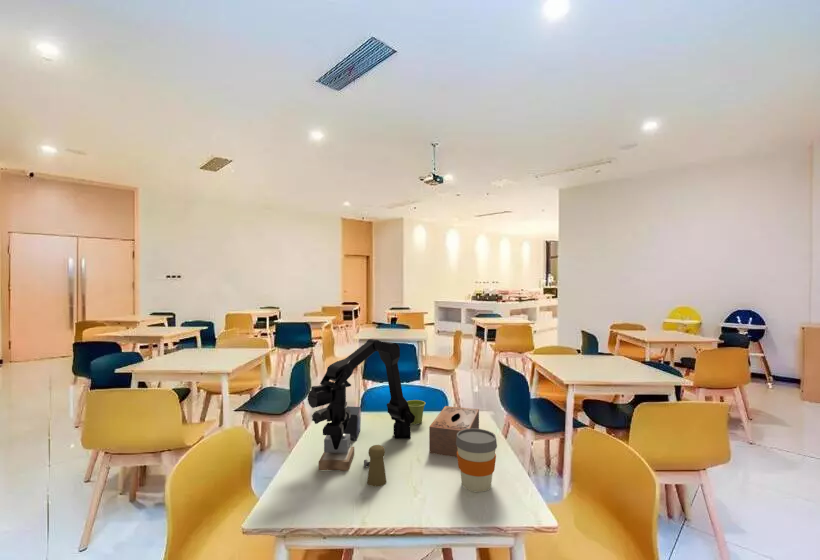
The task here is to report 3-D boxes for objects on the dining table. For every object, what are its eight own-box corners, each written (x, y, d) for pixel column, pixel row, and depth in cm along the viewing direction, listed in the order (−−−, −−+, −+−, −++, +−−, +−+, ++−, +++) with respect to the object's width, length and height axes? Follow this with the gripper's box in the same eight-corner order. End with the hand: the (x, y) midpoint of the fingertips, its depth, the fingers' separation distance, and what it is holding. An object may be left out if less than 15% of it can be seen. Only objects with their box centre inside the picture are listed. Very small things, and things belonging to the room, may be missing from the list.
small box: (357, 441, 154) (357, 414, 154) (340, 440, 154) (341, 414, 154) (361, 431, 164) (361, 406, 164) (345, 430, 164) (346, 405, 164)
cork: (371, 488, 118) (371, 452, 118) (364, 479, 123) (364, 444, 123) (389, 483, 121) (389, 448, 121) (381, 475, 126) (381, 441, 126)
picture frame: (354, 454, 141) (354, 445, 141) (348, 470, 129) (348, 460, 129) (326, 454, 141) (326, 445, 141) (318, 470, 129) (318, 460, 129)
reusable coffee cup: (467, 470, 129) (467, 425, 129) (503, 481, 122) (503, 433, 122) (448, 486, 119) (448, 437, 119) (486, 499, 112) (486, 447, 112)
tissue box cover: (468, 459, 138) (468, 431, 138) (429, 454, 142) (429, 426, 143) (478, 433, 162) (478, 409, 163) (445, 429, 167) (445, 405, 167)
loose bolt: (380, 462, 135) (380, 456, 135) (381, 465, 133) (382, 459, 133) (363, 465, 133) (363, 458, 133) (365, 468, 131) (365, 461, 131)
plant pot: (403, 425, 171) (403, 405, 171) (406, 418, 180) (406, 399, 180) (424, 426, 169) (424, 406, 169) (426, 419, 179) (426, 400, 179)
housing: (327, 446, 138) (327, 431, 138) (350, 446, 137) (350, 431, 137) (324, 452, 133) (324, 437, 133) (347, 452, 132) (347, 437, 132)
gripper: (321, 393, 145) (320, 435, 145) (307, 409, 126) (307, 458, 126) (350, 393, 145) (350, 435, 144) (341, 409, 126) (341, 458, 126)
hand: (337, 446), depth 135 cm, fingers closed on housing, 5 cm apart
